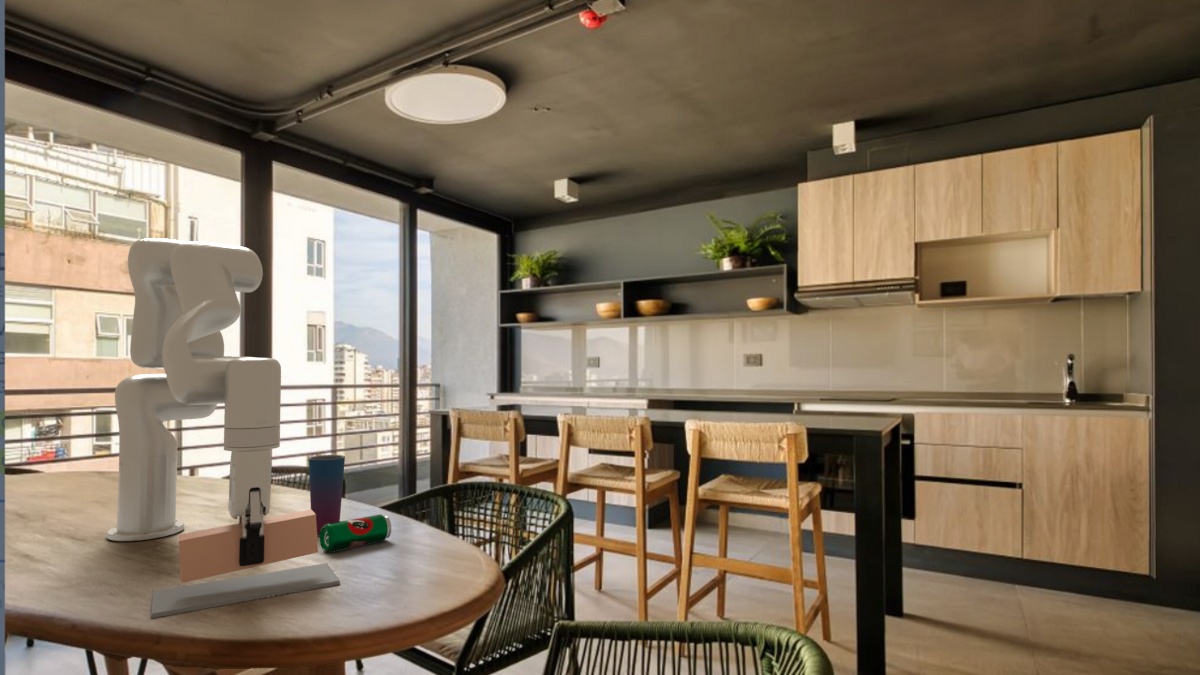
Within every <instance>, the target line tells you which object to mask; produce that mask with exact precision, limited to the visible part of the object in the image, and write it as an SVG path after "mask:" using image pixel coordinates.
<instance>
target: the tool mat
mask: <svg viewBox="0 0 1200 675" xmlns="http://www.w3.org/2000/svg"><path fill="white" fill-rule="evenodd" d="M336 585H337V586H338V585H341V580H340V579H339V577H338V576H337V574H336V573H335V572H334V570H333V568H331V566H330V565H329V564H328V563H319V564H314V565H313V564H311V565H308V566H301V567H295V568H294V567H293V568H289V569H282V570H275V571H271V572H269V571H268V572H264V573H263V572H262V573H257V574H256V573H255V574H251V575H245V576H238V577H233V578H228V579H227V578H226V579H220V580H214V581H208V582H202V583H201V582H200V583H196V584H189V585H183V586H177V587H171V588H165V589H159V590H153V591H152V599H151V600H152V601H151V613H150V618H151V619H155V618H161V617H166V616H171V615H177V614H183V613H188V612H193V611H199V610H200V611H201V610H205V609H210V608H215V607H222V606H227V605H233V604H238V602H239V603H242V602H243V601H244V602H248V601H249V600H250V601H254V600H253V599H255V600H260V599H259V598H261V599H264V598H263V597H266V598H269V597H268V596H272V597H274V596H273V595H277V596H281V595H280V594H283V595H287V594H286V593H289V594H293V593H292V592H294V593H297V592H298V593H300V592H304V591H310V590H315V589H321V588H327V587H333V586H336ZM244 602H243V603H244Z"/></svg>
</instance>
